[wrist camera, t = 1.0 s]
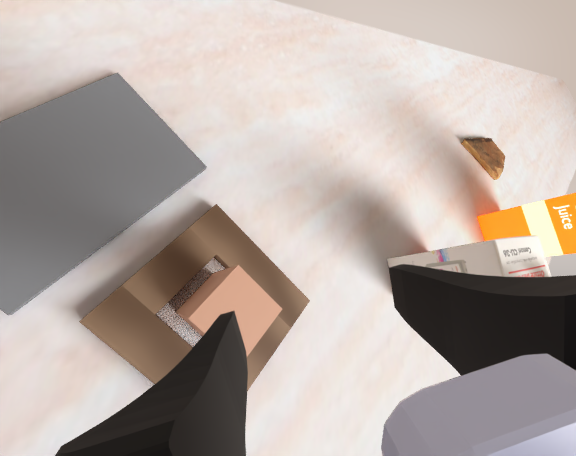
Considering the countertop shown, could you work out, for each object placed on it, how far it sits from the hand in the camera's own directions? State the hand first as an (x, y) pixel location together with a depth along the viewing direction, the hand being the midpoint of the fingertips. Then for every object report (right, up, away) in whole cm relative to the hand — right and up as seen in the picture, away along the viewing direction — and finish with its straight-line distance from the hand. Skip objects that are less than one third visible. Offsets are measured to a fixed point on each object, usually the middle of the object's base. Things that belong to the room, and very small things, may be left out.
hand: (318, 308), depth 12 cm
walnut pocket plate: (-7, -3, +10) cm, 13 cm away
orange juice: (+34, +2, +34) cm, 48 cm away
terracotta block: (-7, -3, +10) cm, 13 cm away
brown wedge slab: (+34, +16, +38) cm, 53 cm away
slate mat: (-17, +7, +7) cm, 20 cm away
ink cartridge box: (+14, -2, +22) cm, 26 cm away
